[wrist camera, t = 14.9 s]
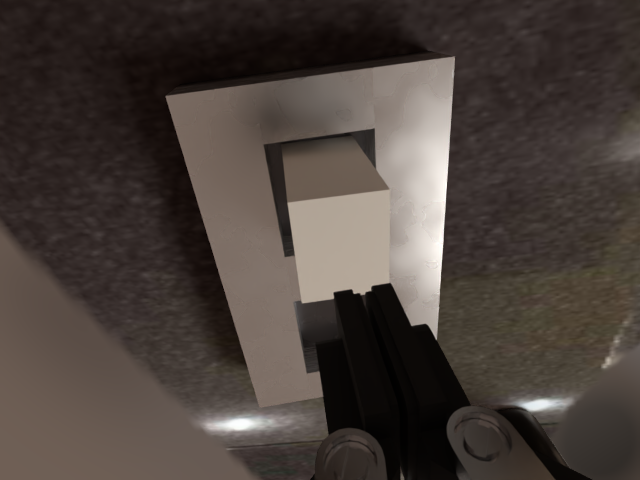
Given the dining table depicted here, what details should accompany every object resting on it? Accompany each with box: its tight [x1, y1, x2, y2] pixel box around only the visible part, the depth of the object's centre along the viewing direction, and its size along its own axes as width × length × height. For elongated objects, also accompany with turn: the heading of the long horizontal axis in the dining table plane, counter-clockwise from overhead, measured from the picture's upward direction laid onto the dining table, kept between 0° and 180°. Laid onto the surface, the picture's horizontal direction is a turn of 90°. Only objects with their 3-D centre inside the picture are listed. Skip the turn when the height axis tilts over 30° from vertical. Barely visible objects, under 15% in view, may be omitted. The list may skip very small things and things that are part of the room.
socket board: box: [166, 51, 455, 408], centre depth 22 cm, size 20×12×3 cm, turn 6°
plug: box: [281, 136, 390, 303], centre depth 17 cm, size 4×4×7 cm
